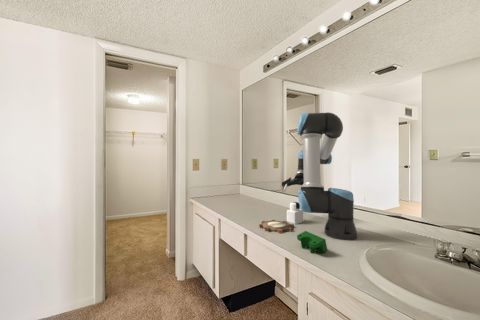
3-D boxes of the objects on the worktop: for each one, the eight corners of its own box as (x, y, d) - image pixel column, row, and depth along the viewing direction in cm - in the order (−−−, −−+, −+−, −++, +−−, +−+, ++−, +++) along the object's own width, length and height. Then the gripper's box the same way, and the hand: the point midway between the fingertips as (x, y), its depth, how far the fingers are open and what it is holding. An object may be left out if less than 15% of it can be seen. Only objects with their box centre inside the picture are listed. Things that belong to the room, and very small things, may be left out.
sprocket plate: (300, 227, 118) (300, 224, 118) (282, 235, 104) (282, 232, 104) (272, 220, 131) (272, 217, 131) (252, 227, 117) (252, 224, 117)
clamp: (302, 256, 91) (293, 236, 93) (312, 251, 93) (303, 231, 96) (320, 257, 81) (309, 234, 83) (330, 250, 83) (320, 228, 85)
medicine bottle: (294, 219, 134) (294, 201, 134) (303, 222, 127) (303, 202, 128) (286, 221, 130) (286, 202, 130) (294, 224, 124) (294, 204, 124)
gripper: (319, 184, 142) (316, 201, 125) (283, 179, 152) (275, 194, 135) (320, 174, 139) (317, 191, 122) (283, 170, 149) (275, 184, 132)
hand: (295, 192), depth 128 cm, fingers open, 13 cm apart
